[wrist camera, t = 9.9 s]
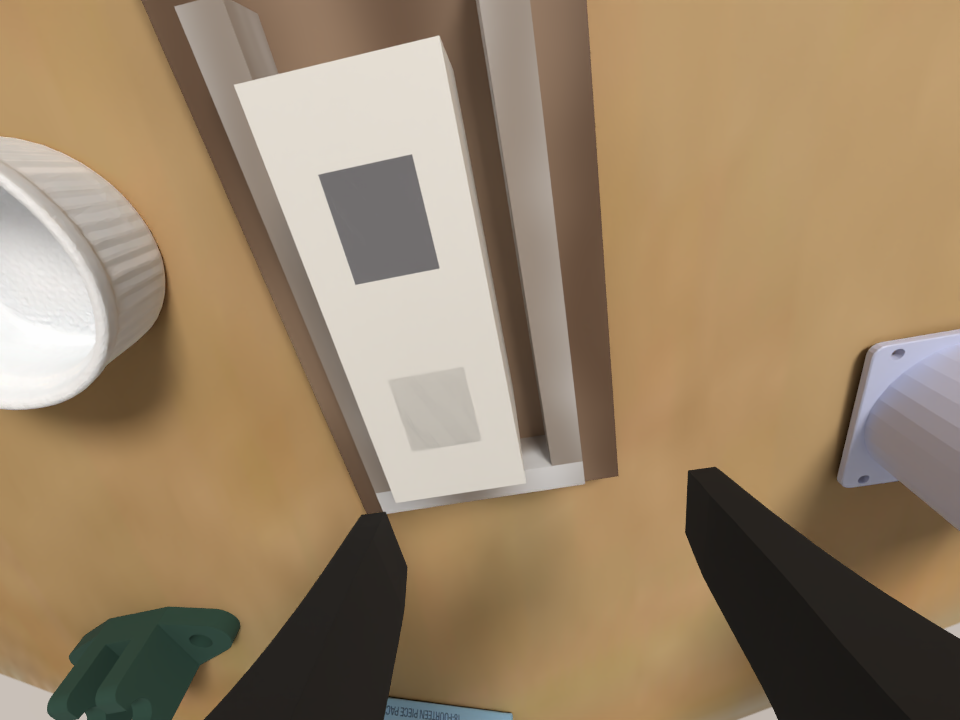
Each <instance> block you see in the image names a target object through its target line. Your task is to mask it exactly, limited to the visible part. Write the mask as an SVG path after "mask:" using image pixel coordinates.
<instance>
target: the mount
mask: <svg viewBox="0 0 960 720" xmlns="http://www.w3.org/2000/svg"><path fill="white" fill-rule="evenodd" d="M239 629H240V622H239V620H238V619H237V618H236V617H235V616H234V615H232V614H231V613H229V612H226V611H223V610H219V609H206V608H185V607H165V608H160V609H155V610H150V611H145V612H140V613H135V614H130V615H126V616H121V617H116V618H111V619H109V620H107V621H106V622H104V623H103V624H101V625H99V626H98V627H96V628H95V629H93V630H92V631H90V632H89V633H87V634H86V635H85V636H84V637H83V638H82V639H81V641H80V642H79V643H78V645H77V646H76V647H75V648H74V650H73V651H72V652H71V654H70V655H69V659H70V661H71V663H72V664H73V665H74V667H73V668H72V670H71V671H70V672H69V674H68V675H67V676H66V678H65V679H64V680H63V682H62V683H61V684H60V686H59V687H58V688H57V690H56V691H55V692H54V694H53V695H52V696H51V698H50V700H49V702H48V706H47V711H48V714H49V715H50V716H51V717H52V718H54V719H55V720H76V719H79V718H80V717H81V715H82V714H83V713H84V712H85V713H86V715H87V720H172V718H173V716H174V714H175V712H176V710H177V708H178V707H179V705H180V703H181V701H182V699H183V697H184V695H185V693H186V691H187V689H188V687H189V685H190V683H191V681H192V679H193V677H194V676H195V674H196V672H197V670H198V668H199V666H200V665H201V664H203V663H204V662H206V661H208V660H210V659H212V658H213V657H215V656H217V655H219V654H221V653H222V652H224V651H226V650H228V649H229V648H230V647H231V645H232V643H233V641H234V639H235V637H236V635H237V633H238V631H239Z"/></svg>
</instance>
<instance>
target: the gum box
mask: <svg viewBox="0 0 960 720" xmlns="http://www.w3.org/2000/svg"><path fill="white" fill-rule="evenodd" d="M384 720H513V715H512V713H507V712H498V711H491V710H483V709H475V708H467V707H459V706H451V705H443V704H435V703H428V702H420V701H412V700H405V699H397V698H390V697H388V700H387V706H386V711H385V716H384Z"/></svg>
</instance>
